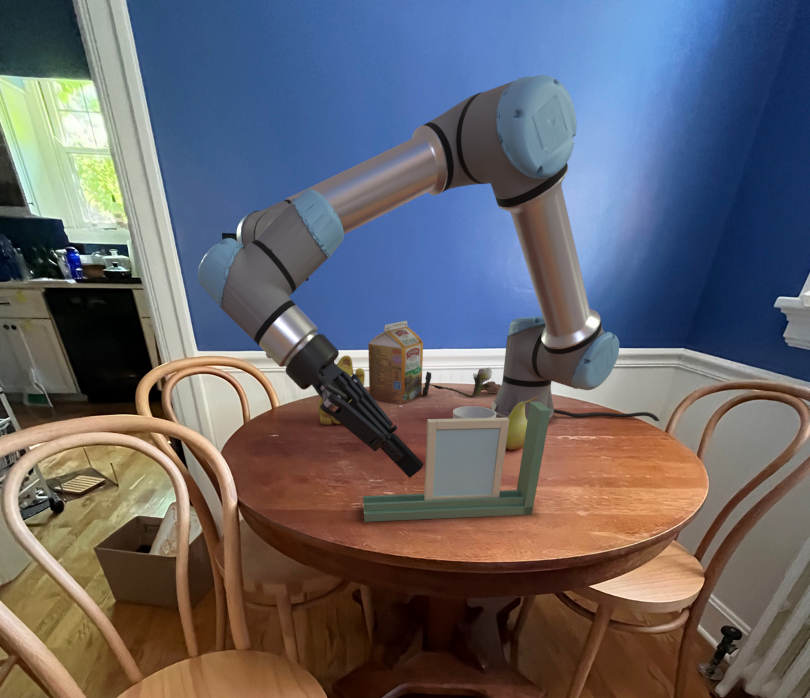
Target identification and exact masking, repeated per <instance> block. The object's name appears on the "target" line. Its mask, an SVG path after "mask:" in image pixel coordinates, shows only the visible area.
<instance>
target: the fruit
mask: <svg viewBox="0 0 810 698" xmlns="http://www.w3.org/2000/svg"><path fill="white" fill-rule="evenodd" d="M537 398H538V396H535V397H534V398H532V399H530V400H527V401H525V402H520V403H518V404H517V405H516V406H515V407H514V408H513V410H512V412H511V413H510V415H509V416H508V417H507V418H508V419H509V427H508V434H507V442H506V449H507V450H508V451H509V450H510V451H515V450H520V449H523V446H524V440H525V433H526V427H527V419H526V417H525V404H526V403H528V402H530V401H533V400H536V399H537ZM506 449H505V450H506Z"/></svg>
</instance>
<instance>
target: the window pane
mask: <svg viewBox="0 0 810 698" xmlns="http://www.w3.org/2000/svg"><path fill="white" fill-rule="evenodd" d="M508 427H509V419H508V418H507V417H506V418H460V419H453V418H428V419H427V420H426V441H425V442H426V443H425V464H424V465H425V468H424V489H423V490H424V491H423V494H424V501H425V500H450V499H475V498H499V494H500V491H501V485H502V479H503V471H504V463H505V455H506V442H507V434H508Z"/></svg>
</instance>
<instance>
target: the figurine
mask: <svg viewBox="0 0 810 698" xmlns="http://www.w3.org/2000/svg"><path fill="white" fill-rule="evenodd" d="M335 365H337V366H338V367H339V368H341V369H342V370H343V371H345V372H346V373H347V374H348V375H349V376H350V377H351V376H352V375H353V374H356V375H357V376H358V378H359V380H360V381H361V383H362V385H363V386H364V387H365V377H366V374H365V370H364V369H363V368H362V367H359V368H356V369H355V373H354V368H353V360H352V358H351V356H350V355H342V357H341V358H340V359H339V360H338V362H337V363H335ZM319 397H320V398H319V399H318V404H317V413H318V416H319V420H320V424H322V425H323V426H327V425H328V426H330V425H331V426H332V424H335V425H340V424H341V423H340V422H339V421H338V420H336V419H335V418H334V417H332V416H331V415H329V414H327V413H326V412H324V411H323V410H322V409H321V408H320V405H321V404H322V403H323V402H324V400H323V398H322V397H321V396H319ZM350 401H351V400H350ZM350 401H349V402H350ZM349 402H348V403H349Z"/></svg>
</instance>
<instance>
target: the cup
mask: <svg viewBox="0 0 810 698" xmlns="http://www.w3.org/2000/svg"><path fill="white" fill-rule="evenodd" d="M460 418H496V412H495V411H494V410H492V408H488V407H484V406H477V405H468V406H467V405H465V406H459V407H455V408H453V410H452V419H460Z"/></svg>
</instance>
